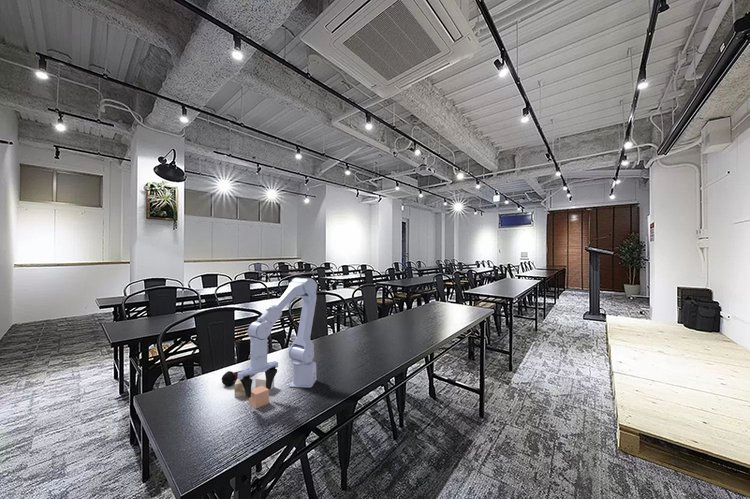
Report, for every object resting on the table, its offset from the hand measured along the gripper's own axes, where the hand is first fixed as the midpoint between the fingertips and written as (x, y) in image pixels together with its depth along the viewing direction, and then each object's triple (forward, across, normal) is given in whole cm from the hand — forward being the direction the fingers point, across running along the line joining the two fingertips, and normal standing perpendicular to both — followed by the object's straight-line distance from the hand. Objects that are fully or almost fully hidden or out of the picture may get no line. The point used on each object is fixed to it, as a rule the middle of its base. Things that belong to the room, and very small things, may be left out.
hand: (258, 392), depth 104 cm
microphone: (+4, +7, +26) cm, 27 cm away
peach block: (+4, 0, 0) cm, 4 cm away
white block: (+4, +7, +9) cm, 12 cm away
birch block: (+4, 0, +12) cm, 13 cm away
